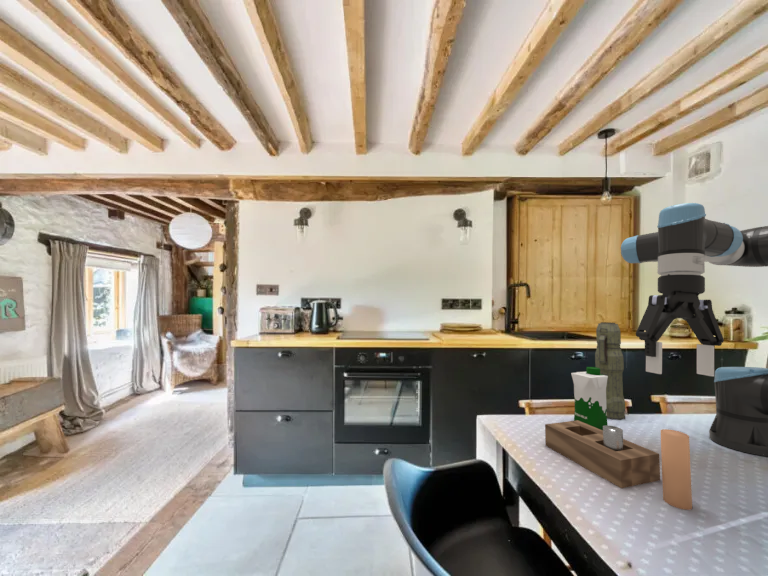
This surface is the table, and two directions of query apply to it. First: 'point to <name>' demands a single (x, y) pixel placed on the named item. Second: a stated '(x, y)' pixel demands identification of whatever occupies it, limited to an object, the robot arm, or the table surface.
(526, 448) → the table surface
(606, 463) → the hole block
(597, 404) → the milk carton
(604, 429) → the steel pin
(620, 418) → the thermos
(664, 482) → the peg
